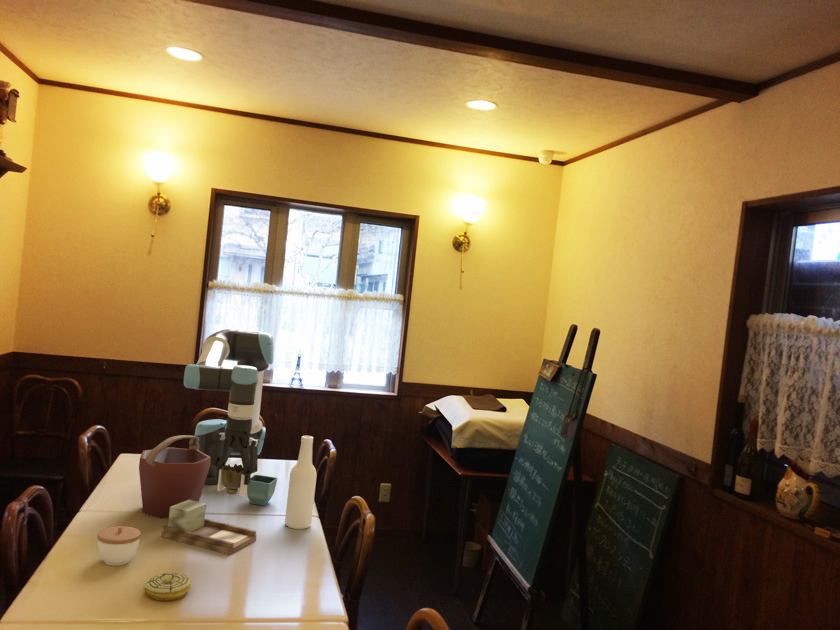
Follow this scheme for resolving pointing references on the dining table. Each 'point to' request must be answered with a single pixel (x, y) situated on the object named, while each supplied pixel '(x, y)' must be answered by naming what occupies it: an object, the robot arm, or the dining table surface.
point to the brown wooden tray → (204, 529)
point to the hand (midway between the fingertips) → (231, 492)
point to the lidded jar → (118, 544)
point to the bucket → (172, 475)
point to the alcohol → (301, 488)
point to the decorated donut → (167, 586)
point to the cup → (232, 478)
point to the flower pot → (261, 489)
